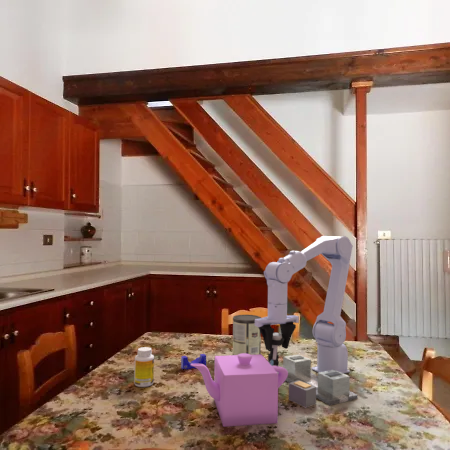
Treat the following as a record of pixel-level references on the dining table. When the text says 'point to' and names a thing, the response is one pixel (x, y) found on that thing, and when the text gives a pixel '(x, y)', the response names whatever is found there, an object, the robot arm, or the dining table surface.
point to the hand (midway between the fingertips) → (276, 348)
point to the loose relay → (302, 393)
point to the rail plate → (319, 380)
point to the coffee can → (246, 335)
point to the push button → (275, 349)
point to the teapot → (244, 389)
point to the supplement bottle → (144, 367)
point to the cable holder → (186, 364)
